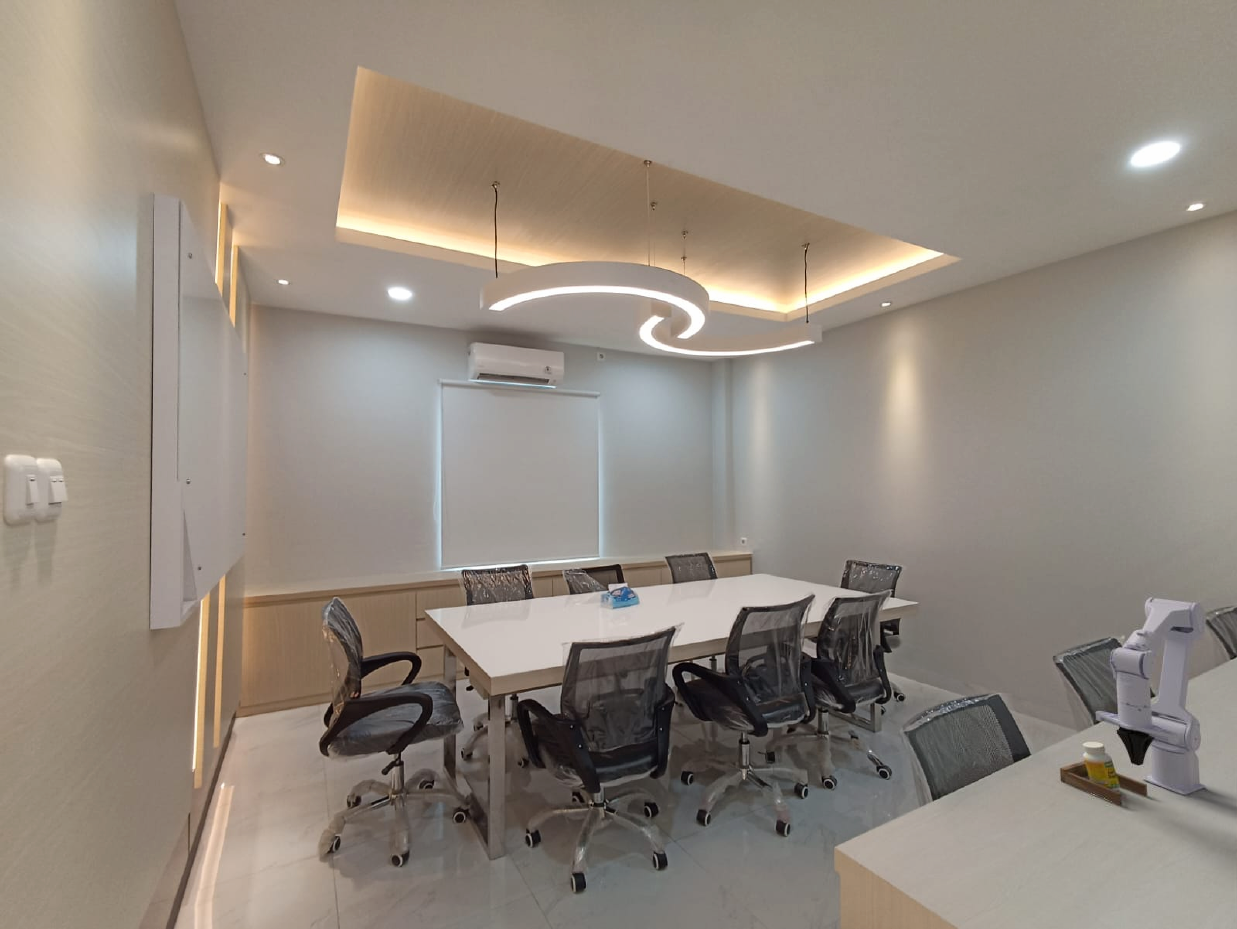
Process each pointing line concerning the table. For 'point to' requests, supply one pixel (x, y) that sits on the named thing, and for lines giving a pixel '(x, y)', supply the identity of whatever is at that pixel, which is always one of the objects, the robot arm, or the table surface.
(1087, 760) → the supplement bottle
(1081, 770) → the walnut slot rack
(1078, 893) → the table surface
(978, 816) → the table surface
